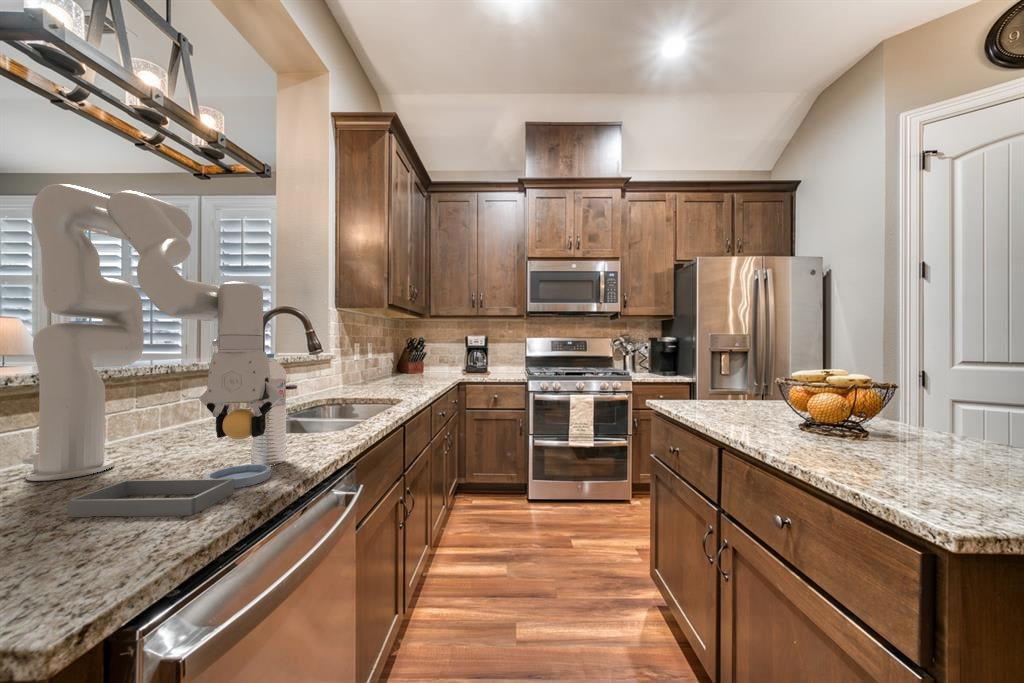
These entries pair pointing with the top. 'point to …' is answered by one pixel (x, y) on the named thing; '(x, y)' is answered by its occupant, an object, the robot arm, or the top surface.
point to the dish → (243, 474)
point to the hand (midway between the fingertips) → (241, 435)
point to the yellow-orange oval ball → (238, 424)
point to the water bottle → (272, 423)
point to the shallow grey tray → (110, 505)
